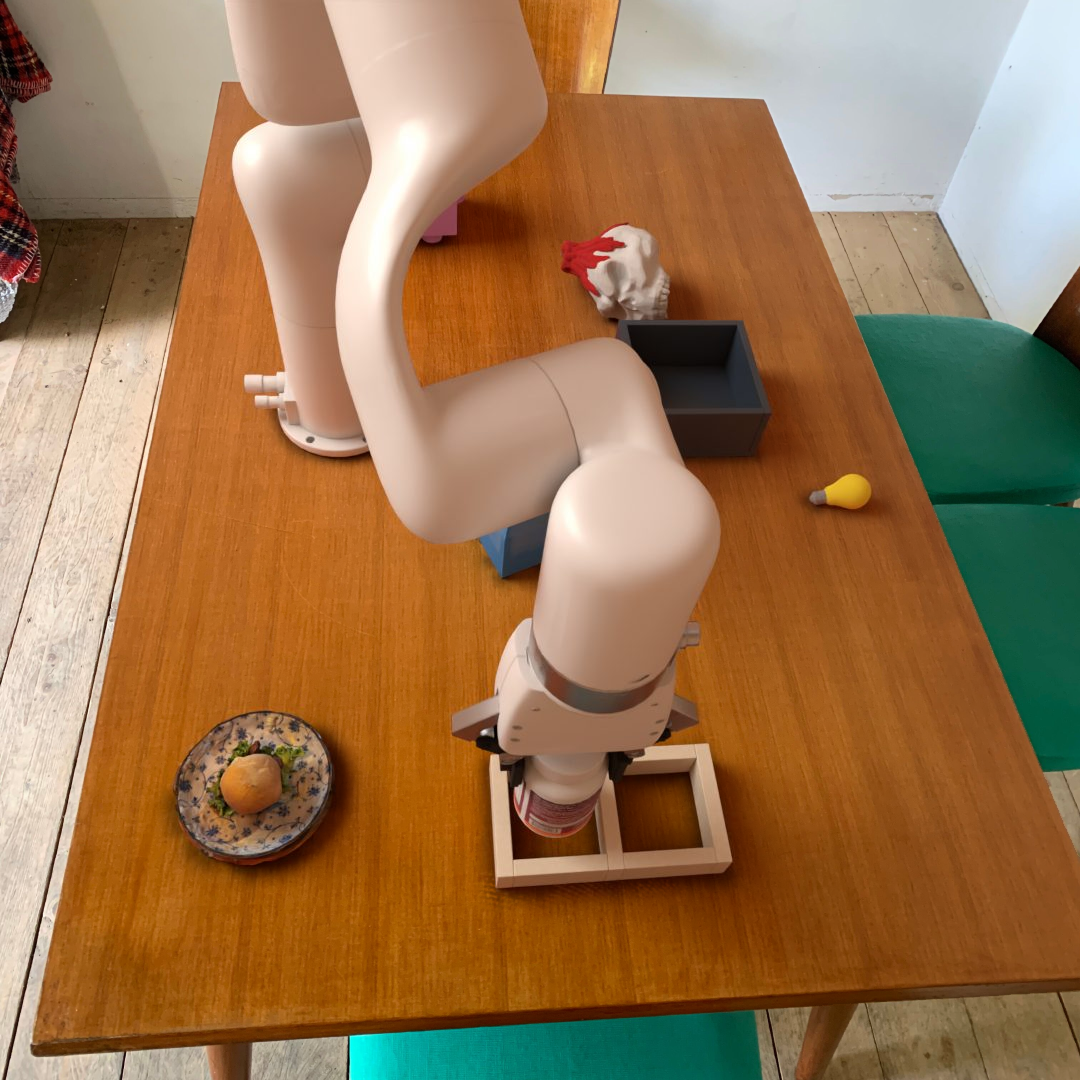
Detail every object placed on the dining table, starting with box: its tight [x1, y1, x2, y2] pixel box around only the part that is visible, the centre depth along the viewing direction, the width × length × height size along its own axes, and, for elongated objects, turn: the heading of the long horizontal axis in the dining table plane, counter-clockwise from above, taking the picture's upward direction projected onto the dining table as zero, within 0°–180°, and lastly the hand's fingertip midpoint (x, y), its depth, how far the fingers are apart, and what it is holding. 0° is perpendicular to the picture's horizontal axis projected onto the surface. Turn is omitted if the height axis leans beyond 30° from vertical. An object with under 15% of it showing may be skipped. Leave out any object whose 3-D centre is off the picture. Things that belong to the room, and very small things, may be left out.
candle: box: [560, 222, 671, 320], centre depth 106 cm, size 9×11×15 cm
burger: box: [172, 710, 336, 866], centre depth 69 cm, size 12×12×8 cm
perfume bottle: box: [478, 511, 551, 579], centre depth 83 cm, size 6×6×12 cm
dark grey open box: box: [615, 319, 773, 458], centre depth 97 cm, size 14×14×7 cm
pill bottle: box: [513, 752, 609, 839], centre depth 64 cm, size 6×6×11 cm
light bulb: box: [808, 473, 872, 510], centre depth 92 cm, size 3×6×4 cm, turn 94°
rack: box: [488, 742, 733, 889], centre depth 71 cm, size 18×9×3 cm, turn 95°
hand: (563, 762), depth 63 cm, fingers closed on pill bottle, 6 cm apart
